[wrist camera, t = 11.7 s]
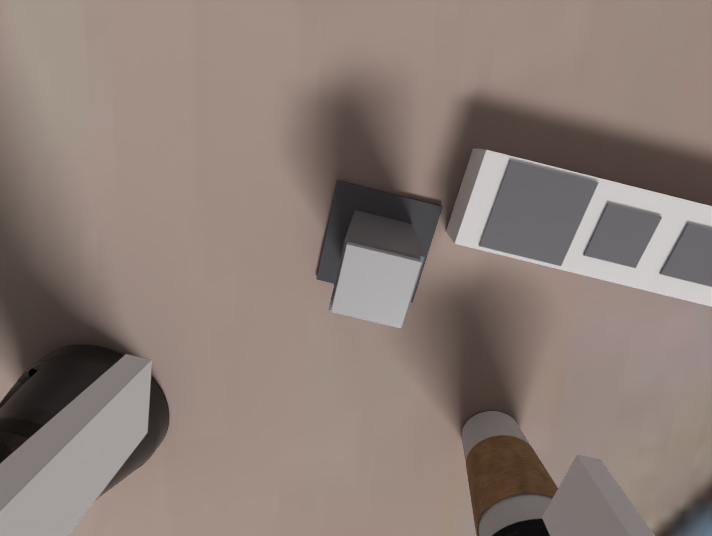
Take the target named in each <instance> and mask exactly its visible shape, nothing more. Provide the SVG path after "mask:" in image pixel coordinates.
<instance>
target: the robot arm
mask: <svg viewBox="0 0 712 536" xmlns="http://www.w3.org/2000/svg"><path fill="white" fill-rule="evenodd" d="M151 368H152V360H150V359H146V358H141V357H137V356H132V355H128V354H126V355H124V356H123V355H120V354H118V353H116V352H113V351H111V350H108V349H104V348H101V347H96V346H88V345H75V346H68V347H64V348H61V349H58V350H56V351H54V352H52V353H50V354H49V355H47V356H46V357H44V358H42V359H41V360H39V361H38V362H36V363H35V364H33V365H32V366H31V367H30V368H28V369H27V370H26V371H25V372H24V373H23V374H22V376H21V377H20V378H19V379H18V381H17V382H16V383H15V385H14V386H13V387H12V388H11V390H10V391H9V392H8V393H7V395H6V396H5V397H4V398H3V400H2V401H1V402H0V536H69V534H70V533H71V532H72V530H73V529H74V528H75V526H76V525H77V524H78V523H79V521H80V520H81V519H82V517H83V516H84V515H85V513H86V512H87V511H88V510H89V508H90V507H91V506H92V504H93V503H94V502H95V501H96V500H97V499H98V498H99V497H100V496H101V495H103V494H104V493H105V492H107V491H108V490H110V489H111V488H112V487H114V486H115V485H116V484H118V483H119V482H120V481H122V480H123V479H124V478H125V477H127V476H128V475H129V474H131V473H132V472H133V471H134V470H136V469H138V468H139V467H140V466H142V465H143V464H144V463H145V462H146V461H147V460H148V459H149V458H150V457H151V456H152V455H153V453H154V452H155V450H156V449H157V448H158V446H159V445H160V443H161V442H162V441H163V439H164V437H165V435H166V433H167V430H168V426H169V411H168V406H167V403H166V400H165V398H164V395H163V393H162V392H161V390H160V388H159V387H158V385H157V384H156V382H155V381H154V380H153V379H152V378H151ZM542 519H543V521H544V523H545V525H546V528H547V530H548V532H549V534H550V536H655V535H654V534H653V532H652V531H651V529H650V528H649V527H648V525H647V524H646V522H645V521H644V520H643V518H642V517H641V515H640V514H639V513H638V511H637V510H636V508H635V507H634V506H633V504H632V503H631V501H630V500H629V499H628V497H627V496H626V494H625V493H624V492H623V490H622V489H621V487H620V486H619V485H618V483H617V482H616V480H615V479H614V478H613V476H612V475H611V473H610V472H609V471H608V469H607V468H606V466H605V465H604V464H603V462H602V461H601V460H599V459H595V458H590V457H586V456H581V455H577V456H576V458H575V459H574V461H573V463H572V465H571V467H570V468H569V470H568V472H567V474H566V475H565V477H564V479H563V481H562V483H561V484H560V486H559V488H558V490H557V492H556V493H555V495H554V497H553V499H552V500H551V502H550V504H549V506H548V508H547V509H546V511H545V513H544V515H543V517H542Z"/></svg>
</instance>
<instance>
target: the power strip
mask: <svg viewBox="0 0 712 536" xmlns="http://www.w3.org/2000/svg"><path fill="white" fill-rule="evenodd" d="M446 232H447V234H448V235H449V236H450V238H451V239H452V241H453V242H454V243H455V244H458V245H462V246H466V247H471V248H475V249H479V250H483V251H487V252H491V253H495V254H499V255H503V256H507V257H511V258H515V259H519V260H524V261H528V262H532V263H536V264H540V265H544V266H548V267H552V268H556V269H560V270H564V271H568V272H573V273H577V274H581V275H585V276H589V277H593V278H597V279H601V280H605V281H609V282H613V283H617V284H621V285H626V286H630V287H634V288H638V289H642V290H646V291H650V292H654V293H658V294H662V295H666V296H670V297H675V298H679V299H683V300H687V301H691V302H695V303H699V304H703V305H707V306H711V307H712V206H709V205H705V204H701V203H697V202H693V201H689V200H685V199H681V198H677V197H673V196H669V195H665V194H661V193H657V192H653V191H649V190H645V189H641V188H637V187H633V186H629V185H625V184H621V183H617V182H613V181H609V180H605V179H601V178H597V177H593V176H589V175H585V174H581V173H577V172H573V171H569V170H565V169H561V168H557V167H553V166H549V165H545V164H541V163H537V162H533V161H530V160H526V159H522V158H518V157H514V156H510V155H506V154H502V153H498V152H494V151H490V150H485V149H475V148H473V150H472V153H471V156H470V159H469V162H468V165H467V168H466V171H465V174H464V177H463V180H462V183H461V186H460V189H459V193H458V196H457V199H456V202H455V205H454V208H453V211H452V214H451V217H450V220H449V223H448V226H447V229H446Z"/></svg>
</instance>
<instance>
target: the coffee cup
mask: <svg viewBox="0 0 712 536" xmlns="http://www.w3.org/2000/svg"><path fill="white" fill-rule="evenodd" d="M462 443H463V448H464V454H465V460H466V468H467V474H468V481H469V488H470V495H471V501H472V508H473V515H474V522H475V528H476V535H477V536H550V534H549V532H548V530H547V528H546V525H545V523H544V521H543V519H542V517H543V515H544V513H545V511H546V509H547V508H548V506H549V504H550V502H551V500H552V499H553V497H554V495H555V493H556V492H557V490H558V488H557V486H556V484H555V483H554V481H553V480H552V478H551V477H550V475H549V473H548V472H547V470H546V469H545V467H544V466H543V464H542V462H541V461H540V459H539V458H538V456H537V455H536V453H535V451H534V450H533V448H532V447H531V446H530V444H529V442H528V441H527V439H526V437H525V436H524V434H523V432H522V431H521V429H520V427H519V426H518V424H517V423H516V421H515V420H514V419H513V418H512V417H510V416H509V415H507V414H505V413H502V412H498V411H486V412H482V413H479V414H477V415H474V416H473V417H471V418H470V419H469V420H468V421H467V422H466V424H465V425H464V427H463V430H462Z"/></svg>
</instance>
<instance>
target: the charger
mask: <svg viewBox="0 0 712 536" xmlns="http://www.w3.org/2000/svg"><path fill="white" fill-rule="evenodd" d="M424 258H425V257H424V254H423V251H422V249H421V246H420V243H419V241H418V238H417V236H416V233H415V230H414V228H413V225H412V224H410V223H406V222H402V221H398V220H394V219H390V218H386V217H382V216H378V215H374V214H370V213H365V212H361V211H357V210H355V211H354V214H353V217H352V220H351V223H350V226H349V228H348V231H347V234H346V237H345V241H344V246H343V250H342V254H341V258H340V263H339V267H338V271H337V276H336V280H335V284H334V288H333V293H332V297H331V301H330V306H329V310H331V312H334V313H338V314H342V315H346V316H350V317H355V318H359V319H363V320H367V321H371V322H375V323H380V324H384V325H388V326H392V327H396V328H400V329H401V327H402V328H403V325H404V322H405V318H406V315H407V312H408V309H409V306H410V302H411V299H412V296H413V293H414V290H415V287H416V283H417V280H418V277H419V274H420V271H421V267H422V264H423V261H424Z"/></svg>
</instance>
